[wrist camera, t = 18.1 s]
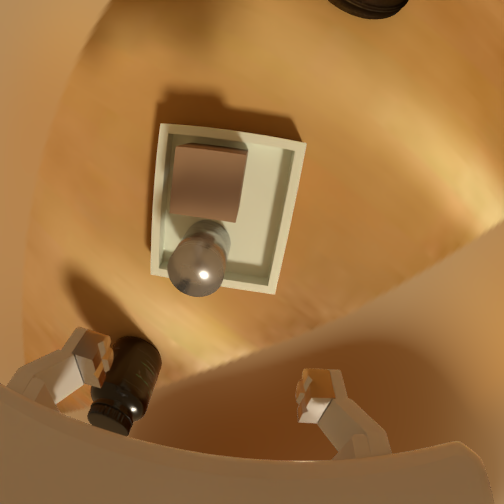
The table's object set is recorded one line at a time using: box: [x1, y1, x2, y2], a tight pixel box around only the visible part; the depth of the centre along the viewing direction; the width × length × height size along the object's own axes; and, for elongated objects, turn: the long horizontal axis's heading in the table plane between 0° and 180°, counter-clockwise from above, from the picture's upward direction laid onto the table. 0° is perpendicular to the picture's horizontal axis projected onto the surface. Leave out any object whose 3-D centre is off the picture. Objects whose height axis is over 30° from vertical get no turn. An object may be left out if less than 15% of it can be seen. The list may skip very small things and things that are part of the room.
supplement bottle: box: [88, 337, 162, 436], centre depth 30 cm, size 7×7×12 cm
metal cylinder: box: [167, 220, 231, 297], centre depth 25 cm, size 4×4×6 cm
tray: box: [151, 123, 307, 294], centre depth 26 cm, size 14×12×2 cm
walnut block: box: [169, 143, 248, 223], centre depth 23 cm, size 5×5×5 cm
